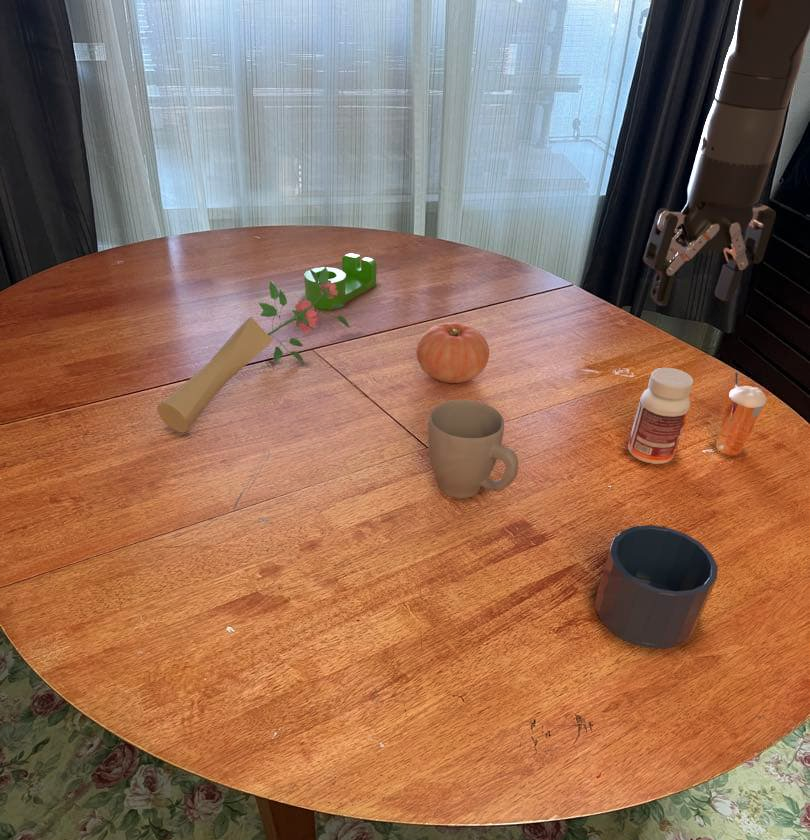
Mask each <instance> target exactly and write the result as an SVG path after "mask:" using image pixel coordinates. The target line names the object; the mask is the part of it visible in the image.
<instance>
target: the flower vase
mask: <svg viewBox="0 0 810 840" xmlns="http://www.w3.org/2000/svg"><path fill="white" fill-rule="evenodd" d="M324 267H325V268H324V269H323V270H322V271H321V273H320V276H319V279H318V276H317V274H316V273H315V272H314V271H312V270H310V269H309V270H310V271H311V273H312V276H313V278H314V280H315V282H316V285H317V283H318V281H319V282H320V283H321V285H319V286H320V288H319V289H320V291H321V293H322V294H323V295H322V296H321V297H320V294H319V299H318V300H317V301H316V302H315V303H314V304H313V305H311V302H309V301H306V299H303V300H301V299H299V300H298V302H297V303H295V304H294V306H295V308H293V309H291V310H290V311H291V312H292V313H293V317H292V318H290V319H288V320H287V321H285V322H283V323H282V324H280V325H279V326H278V327H276V328H274V320H275V317H276V316H277V317H278V318H279V319H278V320H281V314H282V309H283V307H285V306H286V305H287V304H288V299H287V297H286V295H285V293H284V292H283V291H282V290H281V289H279V290H278V288H277V286H276V285H275V284H274V282H273V281H272V280H269V287H268V288H269V294H270V298H271V299H273V300H274V301H273V302H274V305H275V306H274V305H271V304H269V303H266V302H258V305H259V306H260V308H261V309H262V312H261V314H259V316H260V317H265V318H271V317H273V318H272V322H271V323H272V324H271V328H272V330H271V331H270V332H269V333H267V332H266V331H265V330H264V329H263V328H262V326H261V325H260V324H258V322H257V321H256V320H255V319H254V318H253V317H252V316H250V317H248V318H247V319H246V320H245V321H244V323H242V324H241V325H240V326H239V327H238V328H236V330H235V331H234V332H233V333H232V335H231V336H230V337H229V338H228V340H226V341H225V343H224V344H223V345H222V347H221V348H220V349H218V351H217V352H216V354H215V355H213V357H212V359H211V360H209V362H208V363H207V364H206V365H205V366H203V367H202V368H201V369H200V370H198V371H197V372H196V373H195V374H194V375H193V376H192V377H190V378H189V379H188V380H187V381H186V382H184V383H183V384H182V385H181V386H180V387H178V388H177V389H176V390H175V391H174V392H173V393H171V394H170V395H168V396H167V397H165V399H163V400H162V401H160V402H159V403H158V404H157V407H156V411H157V413H158V414H159V417H160V419H161V420H162V421H163V422H164V423H165V424H166V426H168V427H169V428H171V429H173V430H174V431H176V432H179V433H183V434H184V433H186V432H188V431H189V430H190V428H191V427H192V426H193V425H194V423H195V422H196V421H197V420H198V418H199V417H200V416H201V414H202V413H203V411H204V410H205V409H206V407H208V405H209V404H210V403H211V401H212V400H213V399H214V398H215V396H216V395H218V393H219V392H220V391H221V390H222V388H223V387H225V385H226V384H227V383H228V382H229V381H230V380H231V379H232V378H233V377H234V376H235V375H236V374H238V373H239V372H240V371H241V370H243V368H244V367H245V366H247V365H248V364H249V363H250V362H251V361H252V360H254V359H255V358H256V357H257V356H258V355H259V354H260V353H261V352H262V351H263V350H265V349H266V348H267V347H269V345H271V344H272V342H274V340H273V338H274V339H276V340H277V341H278V342H279V343H280V344H279V347H278V346H275V349H274V352H273V363H274V362H276V361H279V360H280V359H281V358H282V357H283V354H284V352H283V351H282V350H281V348H280V347H281V345H282V346H283V348H284V349H285V350H286V351H287V352H288V353H290V355H292V356H293V357H294V358H295V359H297V360H298V361H299V362H300V363H301V364H303V365H305V362H304V358H303V357H302V355H301V354H300V353H299V352H298V351H296V350H294V351H289V350H288V349H287V348H286V347H285V346H284V344H283V343H286V341H285V340H282V341H281V340H279V339H278V338H276V337H275V336H274V335H273V334H274V333H276V332H277V331H279V330H281V328H283V327H285V326H287V325H288V324H291V323H293V322H294V321H295V323H294V325H295V327H298V328H299V331H302V330H303V334H305V333H312V329H311V328H313V329H316V328H317V326H318V316H319V314H318V312H321V313H324V314H326V315H329V316H332V317H334V318H337V320H338V321H339V322H340V323H342V324H343V325H344V326H345V327H347V328H349V329H351V327H350V325H349V322H348V320H347V319H346V318H345V317H344V316H343V315H342V314H339V315H337V316H336V315H332V314H329V313H328V312H331V310H334V309H339V308H342V307H345V306H346V305H345V304H344V305H343V304H333V305H332V309H328V310H321V309H318V308H314V307H313V306H314V305H315V304H316V303H317V302H318V301H319V300H320V299H321V298H322V297H323V296H324V298H325V297H329V299H331V298H334V297H333V296H332V295H336V296H337V293H338V291H337V290H335V288H337V287H336V285H335V284H334V282H333V283H331V281H330V280H328V274H329V273H328V271H327V268H326V267H327V266H324ZM317 288H318V286H317ZM319 289H318V290H319ZM277 299H278V301H279V304H280V305H281V306H282V307H281V308H280V312H279V310H278V306H277V304H276V301H277ZM310 327H311V328H310ZM272 337H273V338H272ZM282 342H283V343H282ZM288 343H289V344H290V345H292V346H294V347H299V348H300V347H304V344H303V343H302V342H301V341H300V340H299V339H296V337H295V338H294V337H290V338H289V341H288Z"/></svg>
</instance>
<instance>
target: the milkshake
mask: <svg viewBox="0 0 810 840" xmlns="http://www.w3.org/2000/svg"><path fill="white" fill-rule="evenodd" d="M738 382H739V372H735V373H734V388H732V389H731V390H730V391H729V394H728V398H727V403H726V406H725V410H724V415H723V418H722V421H721V425H720V428H719V431H718V432H719V433H718V435H717V439H716V443H715V446H716V450H717V451H719V452H720V454H724V455H726V456H737V455H739V454H741V452H742V451H743V448H744V447H745V444H746V442H747V440H748V438H749V437H750V434H751V432H752V430H753V428H754V426H755V424H756V422H757V420H758V418H759V416H760V415H761V413H762V411H763V409H764V408H765V405H766V403H767V395H766V394H765V393H764V391H762V389H761V388H760V387H753V386H751V385H741V386H740V385H738V384H739V383H738Z"/></svg>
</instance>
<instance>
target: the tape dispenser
mask: <svg viewBox="0 0 810 840" xmlns="http://www.w3.org/2000/svg"><path fill="white" fill-rule="evenodd" d="M377 266H378V265H377V261H376V260H375V259H373V258H371V257H367V256H365V257H363V258H362V259H361V254H357V253H353V252H350V253H347V254H345V255H343V256H342V258H341V269H339V268H336V267H329V266H322V267H321V266H320V267H314V268H310V269H307V270H306V271H305V272H304V297H305V298H304V300H306V301H309V302H311V305H313V304H314V303H315V302H316V301H317V300H318V299H319V294H320V297H321V296H322V295H323V294H322V293H321V291H320V289H319V288H320V286H319V285H321V283H320V282H319V281H318V283H317V285H316V282H315V280H314V278H313V276H312V273H311V271H310V270H312V271H314V272H315V273H316V274H317V276H318V279H319V276H320V273H321V271H322V270H323V269H324V268H325V267H326V268H327V271H328V273H329V274H328V280H330V281H331V283H333V282H334V284H335V285H336V287H337V288H335V290H337V291H338V293H337V296H336V295H332V296H333V297H334V298H331V299H329V297H325V298H324V296H323V297H322V298H321V299H320V300H319V301H318V302H317V303H316V304H315V305H314V306H313V307H314V308H316V309H318V310H333V309H332V305H333V304H343V305H345V304H347V303H348V302H349V301H352V300H353V299H354V298H357V297H358V296H360V295H361V294H363V293H365V292H367V291H368V290H370V289H372V288H373V287H375V286H377V269H378V267H377ZM317 286H318V288H317ZM318 289H319V290H318Z"/></svg>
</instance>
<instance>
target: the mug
mask: <svg viewBox="0 0 810 840" xmlns="http://www.w3.org/2000/svg"><path fill="white" fill-rule="evenodd" d="M427 428H428V429H427V446H428V455H429V460H430V465H431V468H432V472H433V474H434V477H435V478H436V481H437V485H438V488H439V490H440V491H441V492H442V493H443V494H445V495H447V496H449V497H453V498H457V499H467V498H471V497H473V496H476V495H477V494H478V493H479V492H480V491H481V489H482V488H484V489H486V490H492V491H497V492H500V491H502V490H504V489H506V488H507V487H509V485H511V484H512V483H513V481H514V480H515V479H516V478H517V475H518V471H519V458H518V456H517V454H516V452H515V451H514V450H513V449H511V448H510V447H508V446H505V445H503V444H502V442H503V437H504V430H505V419H504V417H503V415H502V414H501V413H500V412H499V411H498V410H497V409H496V408H495V407H493V406H491V405H489V404H486V403H484V402H481V401H477V400H471V399H453V400H448V401H445V402H442V403H439V404H438V405H436V406H435V407H434V408H433V409H432V410H431V412H430V413H429V418H428V427H427ZM497 460H498V461H501V462H503V464H504V465H505V469H504V474H503V475H502V477H501V478H500V480H492V479H490V478H489V477H490V475H491V474H492V471H493V469H494V468H495V465H496V463H497Z"/></svg>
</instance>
